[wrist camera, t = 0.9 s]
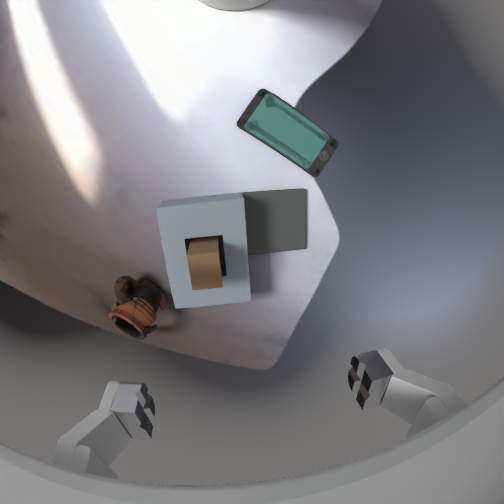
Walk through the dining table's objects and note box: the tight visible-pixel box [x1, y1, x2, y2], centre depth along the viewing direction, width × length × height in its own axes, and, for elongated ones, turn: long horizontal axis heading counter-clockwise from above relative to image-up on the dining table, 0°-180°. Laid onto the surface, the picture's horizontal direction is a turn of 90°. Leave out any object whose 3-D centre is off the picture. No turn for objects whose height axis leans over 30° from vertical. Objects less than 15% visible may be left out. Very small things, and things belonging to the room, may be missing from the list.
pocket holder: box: [156, 193, 251, 309], centre depth 41 cm, size 16×12×5 cm
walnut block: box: [187, 235, 223, 290], centre depth 39 cm, size 5×4×9 cm
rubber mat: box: [241, 189, 306, 255], centre depth 43 cm, size 10×10×1 cm
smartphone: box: [237, 89, 338, 177], centre depth 38 cm, size 7×1×15 cm
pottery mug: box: [109, 276, 167, 339], centre depth 43 cm, size 12×10×8 cm
